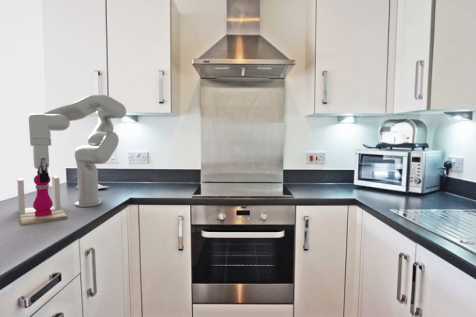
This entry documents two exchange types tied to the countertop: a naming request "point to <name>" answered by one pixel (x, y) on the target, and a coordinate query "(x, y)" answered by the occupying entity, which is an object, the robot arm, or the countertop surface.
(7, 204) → the countertop surface
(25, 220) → the oak board
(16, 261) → the countertop surface
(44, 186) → the pepper mill
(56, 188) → the gate
